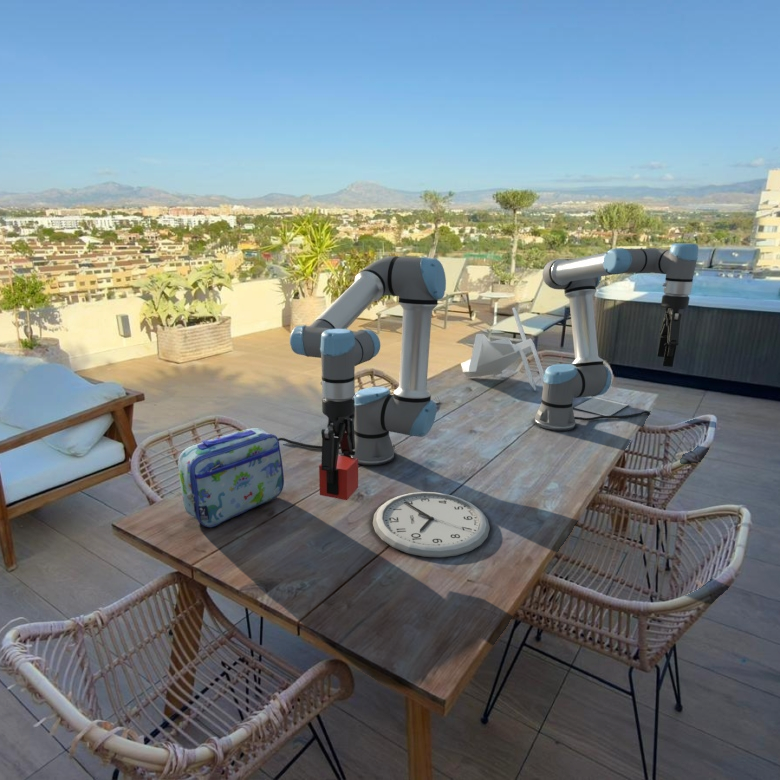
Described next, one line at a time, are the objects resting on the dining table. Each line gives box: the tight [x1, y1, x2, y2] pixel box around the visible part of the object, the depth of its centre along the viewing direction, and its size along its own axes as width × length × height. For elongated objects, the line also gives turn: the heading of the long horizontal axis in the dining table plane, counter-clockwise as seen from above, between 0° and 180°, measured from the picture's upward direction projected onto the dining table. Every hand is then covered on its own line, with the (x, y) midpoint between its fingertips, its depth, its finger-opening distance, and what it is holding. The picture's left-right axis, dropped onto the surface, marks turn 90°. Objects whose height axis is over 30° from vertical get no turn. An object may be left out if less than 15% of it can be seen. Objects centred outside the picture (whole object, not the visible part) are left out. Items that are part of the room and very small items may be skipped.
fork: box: [433, 395, 442, 404], centre depth 223 cm, size 3×16×2 cm, turn 160°
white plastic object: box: [460, 307, 545, 391], centre depth 258 cm, size 37×45×31 cm
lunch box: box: [177, 427, 285, 528], centre depth 137 cm, size 26×11×21 cm, turn 134°
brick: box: [318, 454, 359, 501], centre depth 127 cm, size 7×7×8 cm
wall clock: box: [372, 491, 490, 558], centre depth 135 cm, size 30×2×30 cm
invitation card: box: [573, 396, 629, 416], centre depth 226 cm, size 21×1×15 cm
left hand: (339, 486), depth 127 cm, fingers closed on brick, 7 cm apart
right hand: (664, 361), depth 169 cm, fingers open, 13 cm apart
